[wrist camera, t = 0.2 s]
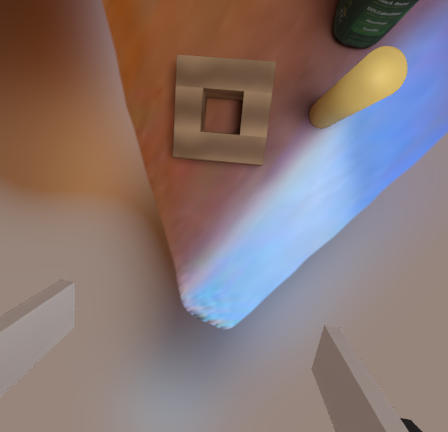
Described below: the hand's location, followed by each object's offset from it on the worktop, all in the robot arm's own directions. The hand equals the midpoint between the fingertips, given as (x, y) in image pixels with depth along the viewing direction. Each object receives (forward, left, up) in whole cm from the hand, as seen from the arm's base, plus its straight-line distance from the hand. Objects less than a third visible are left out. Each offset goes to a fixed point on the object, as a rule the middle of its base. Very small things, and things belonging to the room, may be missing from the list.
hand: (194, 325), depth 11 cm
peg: (-19, +14, -28) cm, 36 cm away
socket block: (-17, -2, -28) cm, 32 cm away
